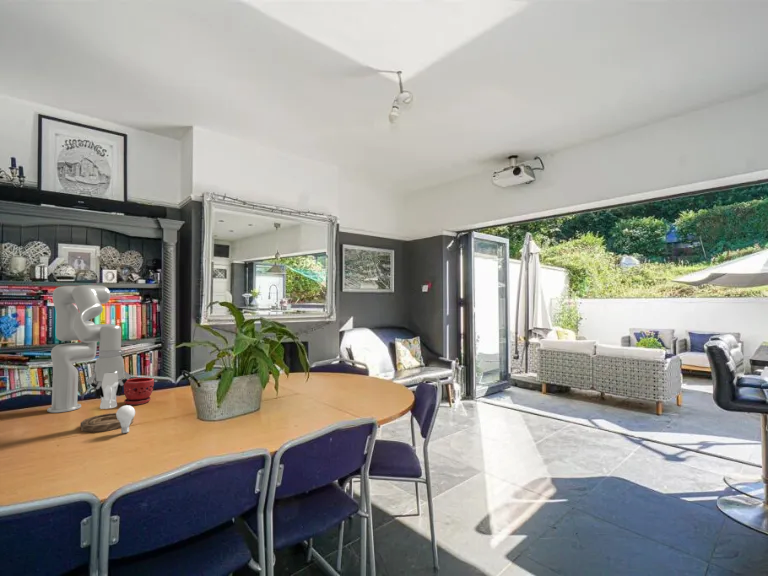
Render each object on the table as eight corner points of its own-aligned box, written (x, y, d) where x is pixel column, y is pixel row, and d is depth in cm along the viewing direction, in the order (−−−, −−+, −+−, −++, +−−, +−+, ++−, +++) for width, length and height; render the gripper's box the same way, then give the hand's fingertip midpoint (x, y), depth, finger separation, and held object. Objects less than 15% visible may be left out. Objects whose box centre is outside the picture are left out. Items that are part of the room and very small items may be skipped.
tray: (76, 425, 162) (76, 419, 162) (126, 416, 175) (126, 410, 175) (86, 435, 150) (86, 428, 150) (138, 424, 163) (139, 418, 163)
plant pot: (142, 406, 191) (143, 382, 192) (117, 406, 192) (117, 381, 192) (158, 399, 204) (159, 377, 205) (134, 399, 205) (135, 376, 205)
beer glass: (107, 410, 159) (109, 373, 159) (94, 408, 160) (95, 372, 160) (122, 405, 165) (123, 370, 166) (109, 404, 167) (110, 370, 167)
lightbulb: (138, 431, 155) (139, 404, 155) (123, 436, 149) (124, 408, 149) (127, 429, 157) (127, 402, 157) (111, 434, 151) (112, 406, 151)
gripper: (130, 351, 172) (129, 391, 172) (82, 355, 160) (81, 398, 159) (136, 353, 167) (135, 394, 167) (86, 357, 155) (85, 402, 154)
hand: (108, 396), depth 163 cm, fingers closed on beer glass, 6 cm apart
